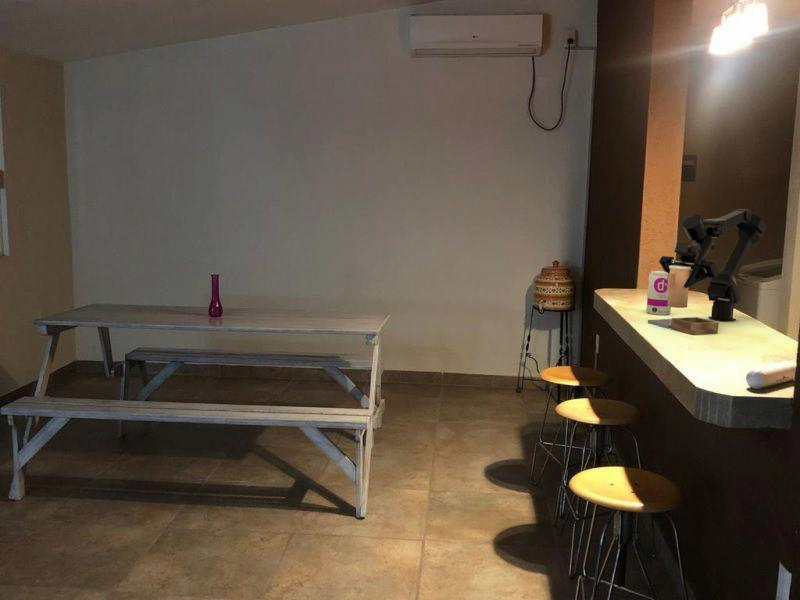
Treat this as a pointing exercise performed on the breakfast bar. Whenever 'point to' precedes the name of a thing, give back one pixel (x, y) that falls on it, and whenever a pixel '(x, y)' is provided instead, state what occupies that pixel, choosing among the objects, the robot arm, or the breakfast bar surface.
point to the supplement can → (658, 293)
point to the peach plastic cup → (678, 286)
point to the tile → (661, 322)
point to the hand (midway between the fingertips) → (676, 286)
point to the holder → (694, 325)
